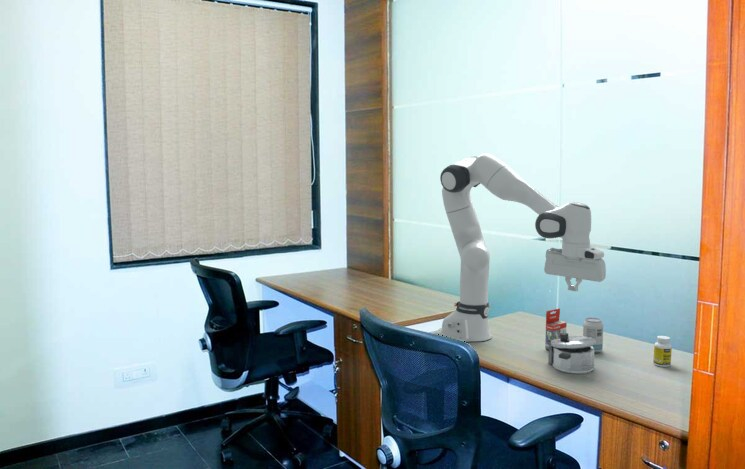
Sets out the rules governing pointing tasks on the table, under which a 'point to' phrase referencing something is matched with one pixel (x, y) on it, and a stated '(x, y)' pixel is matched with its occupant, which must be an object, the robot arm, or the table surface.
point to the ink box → (553, 326)
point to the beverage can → (594, 332)
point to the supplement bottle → (662, 352)
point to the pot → (572, 359)
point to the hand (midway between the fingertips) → (572, 290)
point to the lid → (572, 342)
